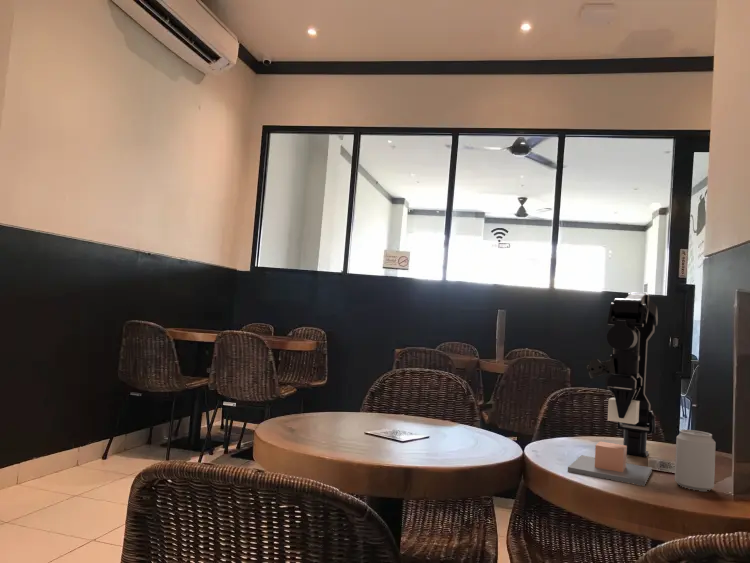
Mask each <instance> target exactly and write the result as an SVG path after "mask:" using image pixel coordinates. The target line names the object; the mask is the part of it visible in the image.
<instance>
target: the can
mask: <svg viewBox="0 0 750 563" xmlns="http://www.w3.org/2000/svg"><path fill="white" fill-rule="evenodd" d="M679 432H680V433H678V435H677V436H676V443H675V467H674V481H675V482H676V483H677V484H678V486H679V485H680V486H679V487H681V486H682V487H681V488H683V487H685V488H684V489H686V488H689V489H688V490H690V489H693V490H692V491H695V490H699V491H698V492H708V491H707V490H709V491H710V490H711V489H714V488H715V472H716V470H715V469H716V468H715V467H716V441H715V439H713V434H712V433H710V432H705V431H700V430H695V429H694V430H693V429H680V430H679Z"/></svg>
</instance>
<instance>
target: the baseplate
mask: <svg viewBox="0 0 750 563" xmlns="http://www.w3.org/2000/svg"><path fill="white" fill-rule="evenodd" d="M652 469H653V467H649V466H643V465H638V464H634V463H627V462H626V468H625V470H624V471H623V472H618V471H613V470H607V469H602V468H597V467H595V456H588V455H583V454H581V455H580V456H579V457H578V458H577V459H576V460H575V461H573V462H572V463H570V465H568V466H567V472H569V473H574V474H578V475H579V474H580V475H583V474H585V475H584V476H589V475H591V476H590V477H594V476H595V477H594V478H599V477H600V478H599V479H604V478H606V479H605V480H609V479H611V480H610V481H615V480H616V482H620V481H623V482H622V483H625V482H629V483H628V484H630V483H634V484H633V485H635V484H638V485H637V486H641V485H643V486H642V487H646V485H645V484H647V483H648V481H647V480H649V479H650V477H649V476H651V474H652V472H653V470H652ZM648 478H649V479H648ZM646 482H647V483H646Z"/></svg>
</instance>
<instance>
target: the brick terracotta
mask: <svg viewBox="0 0 750 563" xmlns="http://www.w3.org/2000/svg"><path fill="white" fill-rule="evenodd" d="M594 450H595V453H594V458H595V467H597V468H602V469H607V470H613V471H618V472H623V471H624V470H625V468H626V463H627V455H628V454H627V446H625V445H623V444H618V443H612V442H607V441H601V440H600V441H598V442H597V443H596V444H595V449H594Z"/></svg>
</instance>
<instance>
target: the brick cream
mask: <svg viewBox="0 0 750 563" xmlns="http://www.w3.org/2000/svg"><path fill="white" fill-rule="evenodd" d="M607 406H608V407H607V421H608V422H609V421H610V422H615V423H618V422H622V423H629V424H637V423H638V422H639V401H637V400H632V401H631V404H630V406H629V408H628V410H627V413H626V415H625V417H624V418H619V416H618V411H617V405H616V400H615V397H610V398H608V402H607Z"/></svg>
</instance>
